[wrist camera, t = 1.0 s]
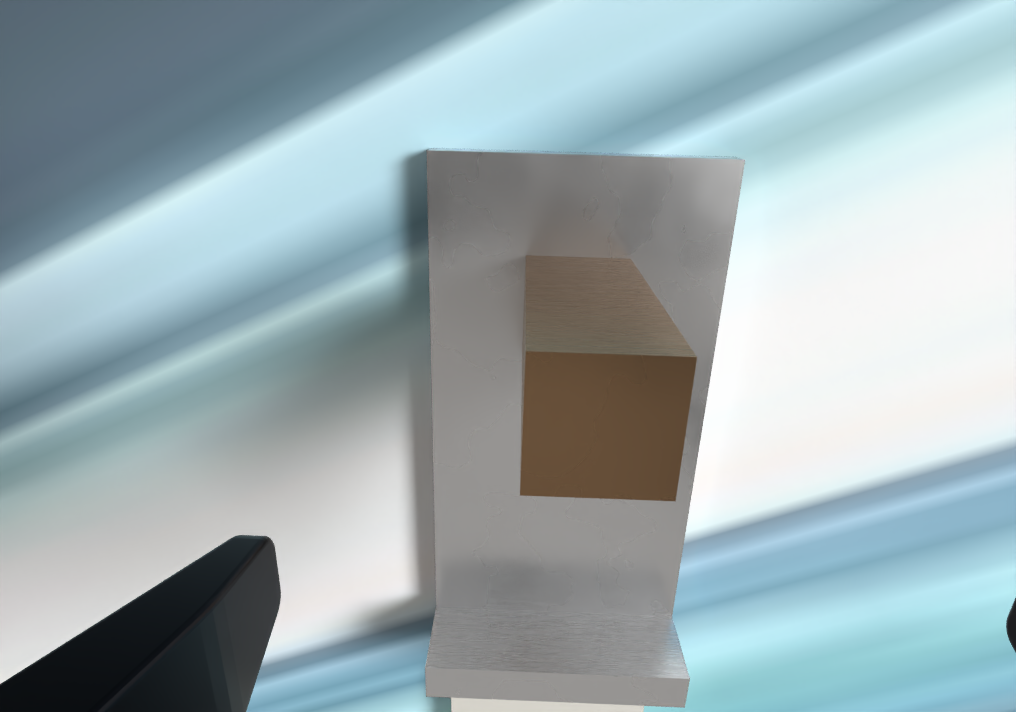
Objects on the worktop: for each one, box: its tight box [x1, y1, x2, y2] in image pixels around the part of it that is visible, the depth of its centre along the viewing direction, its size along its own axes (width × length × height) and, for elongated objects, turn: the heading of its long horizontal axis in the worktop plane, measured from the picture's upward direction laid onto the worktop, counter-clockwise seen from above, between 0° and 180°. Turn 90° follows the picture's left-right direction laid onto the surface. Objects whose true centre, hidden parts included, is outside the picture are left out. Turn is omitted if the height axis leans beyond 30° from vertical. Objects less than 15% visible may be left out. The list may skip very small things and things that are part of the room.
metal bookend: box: [425, 148, 745, 707], centre depth 16 cm, size 16×8×8 cm, turn 178°
